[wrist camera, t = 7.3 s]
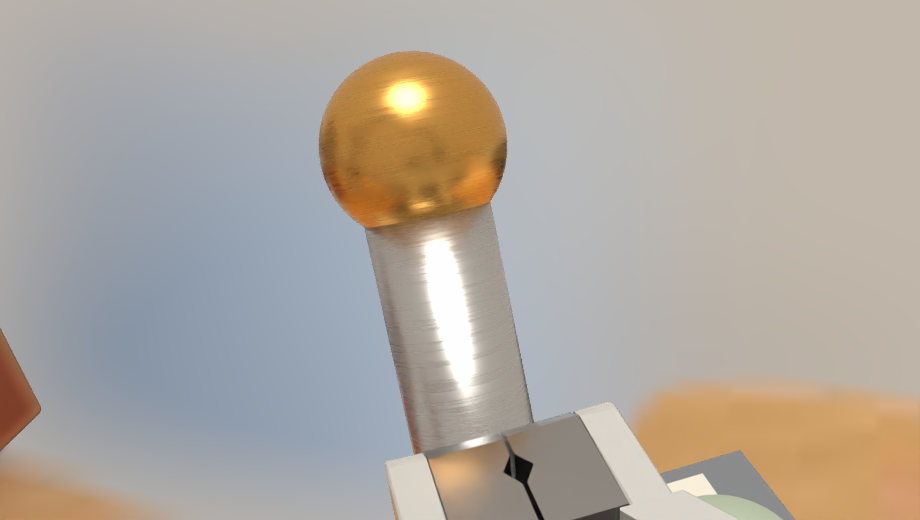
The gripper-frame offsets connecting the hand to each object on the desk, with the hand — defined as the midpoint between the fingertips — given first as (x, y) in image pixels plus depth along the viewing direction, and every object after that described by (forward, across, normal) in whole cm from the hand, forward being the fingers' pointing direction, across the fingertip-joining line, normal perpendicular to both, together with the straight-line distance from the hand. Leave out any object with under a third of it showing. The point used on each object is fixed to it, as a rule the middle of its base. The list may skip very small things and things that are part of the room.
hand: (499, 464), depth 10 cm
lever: (-3, 0, +8) cm, 8 cm away
